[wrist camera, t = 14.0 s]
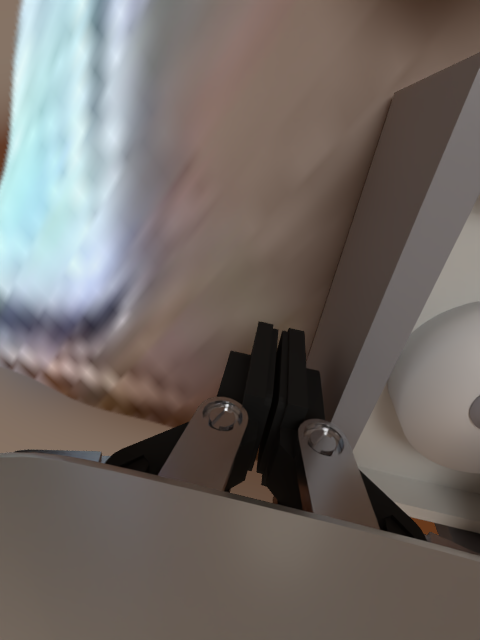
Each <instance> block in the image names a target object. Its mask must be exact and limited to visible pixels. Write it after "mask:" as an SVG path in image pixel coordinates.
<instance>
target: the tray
mask: <svg viewBox="0 0 480 640" xmlns="http://www.w3.org/2000/svg"><path fill="white" fill-rule="evenodd" d="M477 301H480V52H479V53H477V54H475V55H473V56H471V57H469V58H467V59H465V60H463V61H460V62H458V63H456V64H454V65H452V66H450V67H448V68H446V69H444V70H441V71H439V72H437V73H435V74H433V75H431V76H429V77H427V78H425V79H423V80H420V81H418V82H416V83H414V84H412V85H410V86H408V87H406V88H404V89H401V90H399V91H397V92H395V93H394V96H393V99H392V102H391V105H390V108H389V111H388V114H387V118H386V121H385V124H384V127H383V130H382V133H381V136H380V139H379V142H378V145H377V148H376V151H375V154H374V157H373V160H372V163H371V166H370V169H369V172H368V176H367V179H366V182H365V185H364V188H363V191H362V194H361V197H360V200H359V203H358V206H357V209H356V212H355V215H354V218H353V221H352V224H351V227H350V230H349V234H348V237H347V240H346V243H345V246H344V249H343V252H342V255H341V258H340V261H339V264H338V267H337V270H336V273H335V276H334V279H333V282H332V285H331V288H330V292H329V295H328V298H327V301H326V304H325V307H324V310H323V313H322V316H321V319H320V322H319V325H318V328H317V331H316V334H315V337H314V340H313V343H312V346H311V350H310V353H309V356H308V359H307V362H306V368H309V369H314V370H318V371H319V372H320V377H321V386H322V395H323V404H324V413H325V421H328V422H330V423H332V424H334V425H335V426H337V427H338V428H339V429H340V430H341V431H342V432H343V433H344V434H345V435H346V437H347V439H348V441H349V443H350V446H351V449H352V452H353V454H354V457H355V460H356V463H357V466H358V468H359V470H360V471H362V472H363V473H364V474H365V475H366V476H367V477H368V478H369V479H370V480H371V481H372V482H373V483H374V484H375V485H376V486H377V487H378V488H380V489H381V490H382V491H383V492H384V493H385V494H386V495H387V496H388V497H389V498H390V499H391V500H392V501H393V502H394V503H395V504H396V505H398V506H399V507H400V508H401V509H402V510H403V511H404V512H405V513H406V514H407V515H408V516H409V517H413V518H417V519H421V520H426V521H430V522H434V523H438V524H442V525H446V526H450V527H455V528H459V529H463V530H467V531H471V532H476V533H480V474H479V473H468V472H462V471H457V470H453V469H449V468H447V467H444V466H441V465H438V464H436V463H434V462H432V461H430V460H429V459H427V458H426V457H424V456H423V455H421V454H420V453H419V452H418V451H417V450H415V449H414V447H413V446H412V445H411V444H410V443H409V441H408V440H407V438H406V436H405V435H404V432H403V429H402V427H401V424H400V421H399V419H398V416H397V414H396V411H395V408H394V406H393V403H392V400H391V398H390V395H389V391H388V385H387V381H388V379H389V377H390V375H391V373H392V371H393V368H394V366H395V364H396V362H397V360H398V358H399V356H400V354H401V352H402V350H403V348H404V346H405V344H406V342H407V340H408V338H409V336H410V334H411V333H412V332H413V331H415V330H416V329H417V328H418V327H419V326H421V325H422V324H424V323H425V322H427V321H428V320H430V319H431V318H433V317H435V316H437V315H439V314H440V313H443V312H445V311H447V310H450V309H452V308H455V307H458V306H461V305H464V304H467V303H472V302H477Z"/></svg>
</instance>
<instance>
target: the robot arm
mask: <svg viewBox="0 0 480 640" xmlns="http://www.w3.org/2000/svg"><path fill="white" fill-rule="evenodd" d="M277 340H278V330H277V329H273V324H268V323H264V322H259V323H258V327H257V332H256V336H255V340H254V345H253V349H252V353H251V355H247V354H243V353H239V352H234V351H231V352H230V355H229V358H228V362H227V365H226V368H225V371H224V375H223V378H222V381H221V385H220V388H219V391H218V395H217V397H213V398H209V399H207V400H205V401H203V402H202V403H201V405H200V406H199V407H198V409H197V410H196V412H195V414H194V415H193V417H192V419H191V420H190V422H187V423H185V424H182V425H180V426H177V427H175V428H172V429H170V430H168V431H165V432H163V433H160V434H158V435H155V436H153V437H150V438H148V439H145V440H143V441H140V442H138V443H136V444H133V445H131V446H128V447H126V448H123V449H121V450H119V451H118V452H116V453H114V454H113V455H112V456H102V453H101V452H97V451H63V450H29V449H28V450H20V451H15V452H9V453H0V640H480V554H478V553H476V552H474V551H472V550H469V549H467V548H465V547H463V546H461V545H458V544H456V543H454V542H452V541H450V540H447V539H445V538H443V537H441V536H439V535H437V534H434V533H432V532H429V534H428V535H426V534H423V532H422V530H421V529H420V528H419V526H418V525H417V524H416V523H415V522H414V521H413V520H412V519H411V518H410V517H409V516H408V515H407V514H406V513H405V512H404V511H403V510H402V509H401V508H400V507H399V506H398V505H396V504H395V503H394V502H393V501H392V500H391V499H390V498H389V497H388V496H387V495H386V494H385V493H384V492H383V491H382V490H381V489H380V488H378V487H377V486H376V485H375V484H374V483H373V482H372V481H371V480H370V479H369V478H368V477H367V476H366V475H365V474H364V473H363V472H362V471H360V470H359V468H358V466H357V463H356V460H355V457H354V454H353V452H352V449H351V446H350V443H349V441H348V439H347V437H346V435H345V434H344V433H343V432H342V431H341V430H340V429H339V428H338V427H337V426H335V425H334V424H332V423H330V422H328V421H325V413H324V404H323V395H322V386H321V377H320V372H319V371H318V370H314V369H309V368H306V353H305V335H304V331H300V330H295V329H291V328H289V329H288V332H286V331H282V334H281V337H280V341H279V345H278V348H277ZM258 448H259V454H258V462H257V473H261V474H262V484H261V485H264V486H267V487H268V489H269V490H270V491H271V492H272V494H273V495H274V497H273V503H269V502H265V501H261V500H257V499H253V498H249V497H245V496H241V495H237V494H232V493H230V489H231V488H232V487H234V486H236V485H237V484H239V483H241V482H242V481H244V480H245V477H246V474H247V470H249V471H252V468H253V465H254V462H255V458H256V455H257V451H258Z"/></svg>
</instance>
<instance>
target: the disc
mask: <svg viewBox="0 0 480 640" xmlns="http://www.w3.org/2000/svg"><path fill="white" fill-rule="evenodd" d="M387 385H388V391H389V395H390V398H391V400H392V403H393V406H394V408H395V411H396V414H397V416H398V419H399V421H400V424H401V427H402V429H403V432H404V435H405V436H406V438H407V440H408V441H409V443H410V444H411V445H412V446H413V447H414V449H415V450H417V451H418V452H419V453H420V454H421V455H423V456H424V457H426V458H427V459H429V460H430V461H432V462H434V463H436V464H438V465H441V466H444V467H447V468H449V469H453V470H457V471H462V472H468V473H479V474H480V301H477V302H472V303H467V304H464V305H461V306H458V307H455V308H452V309H450V310H447V311H445V312H443V313H440V314H439V315H437V316H435V317H433V318H431V319H430V320H428V321H427V322H425V323H424V324H422V325H421V326H419V327H418V328H417V329H416V330H415V331H413V332H412V333H411V334H410V336H409V338H408V340H407V342H406V344H405V346H404V348H403V350H402V352H401V354H400V356H399V358H398V360H397V362H396V364H395V366H394V368H393V371H392V373H391V375H390V377H389V379H388V381H387Z"/></svg>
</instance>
